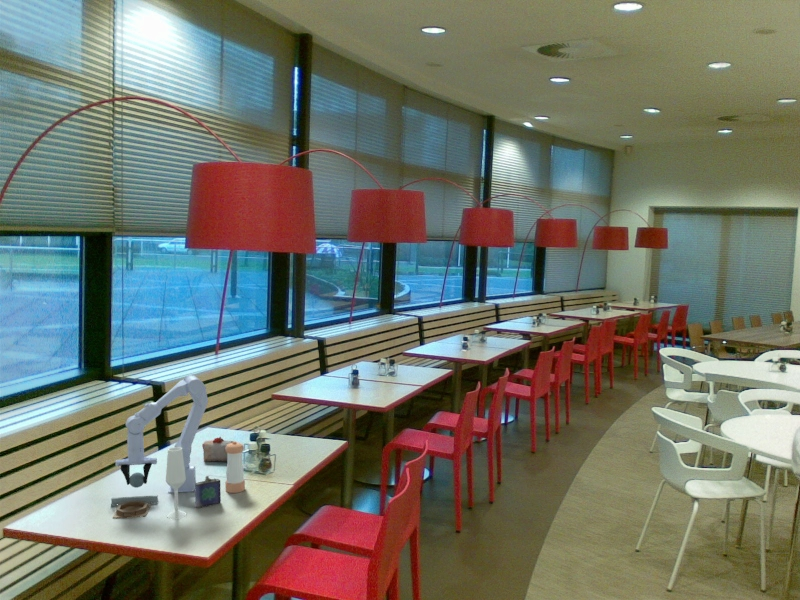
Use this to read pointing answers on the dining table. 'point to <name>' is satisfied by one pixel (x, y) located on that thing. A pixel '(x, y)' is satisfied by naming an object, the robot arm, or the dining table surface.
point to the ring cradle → (132, 509)
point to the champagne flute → (175, 477)
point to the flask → (207, 493)
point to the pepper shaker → (234, 468)
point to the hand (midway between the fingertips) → (137, 483)
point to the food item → (215, 450)
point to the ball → (136, 480)
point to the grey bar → (134, 499)
